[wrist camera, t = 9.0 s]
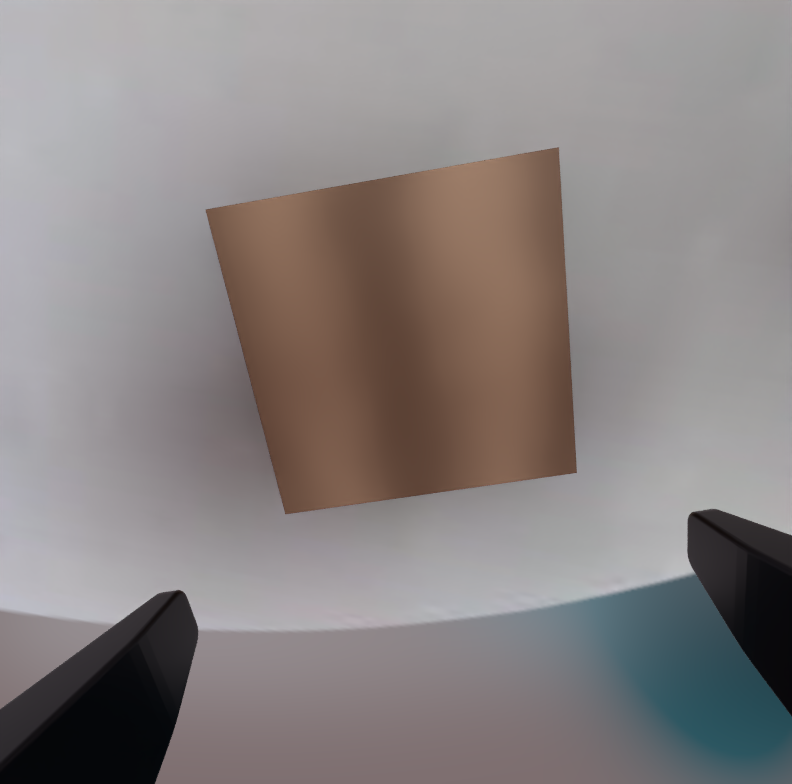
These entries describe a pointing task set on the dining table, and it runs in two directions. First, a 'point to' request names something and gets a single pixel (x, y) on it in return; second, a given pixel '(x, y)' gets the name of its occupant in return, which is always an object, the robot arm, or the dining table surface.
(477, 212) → the walnut riser block
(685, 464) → the dining table surface
